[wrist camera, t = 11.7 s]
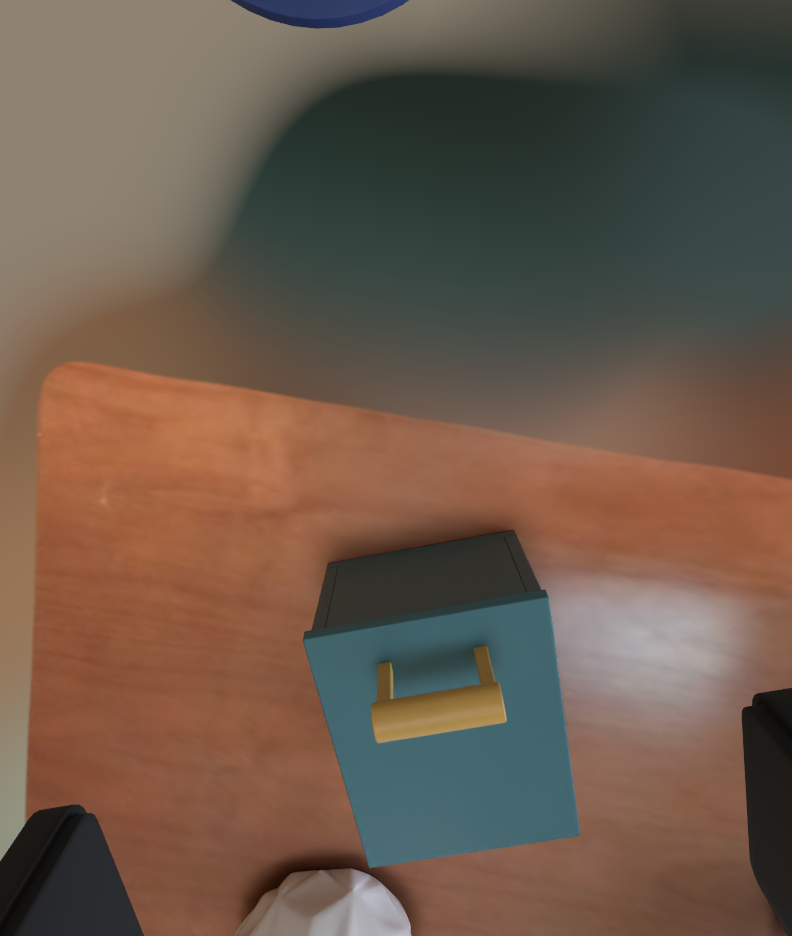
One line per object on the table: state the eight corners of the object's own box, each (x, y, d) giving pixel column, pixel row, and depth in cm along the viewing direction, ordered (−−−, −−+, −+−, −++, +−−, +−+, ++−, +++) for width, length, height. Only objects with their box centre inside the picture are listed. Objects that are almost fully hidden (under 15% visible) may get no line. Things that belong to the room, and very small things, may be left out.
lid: (304, 631, 34) (289, 704, 29) (545, 588, 34) (574, 656, 28) (369, 856, 40) (366, 952, 35) (576, 824, 39) (605, 917, 34)
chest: (327, 563, 44) (310, 630, 36) (514, 529, 44) (541, 590, 35) (374, 755, 49) (369, 856, 40) (545, 727, 48) (576, 824, 39)
